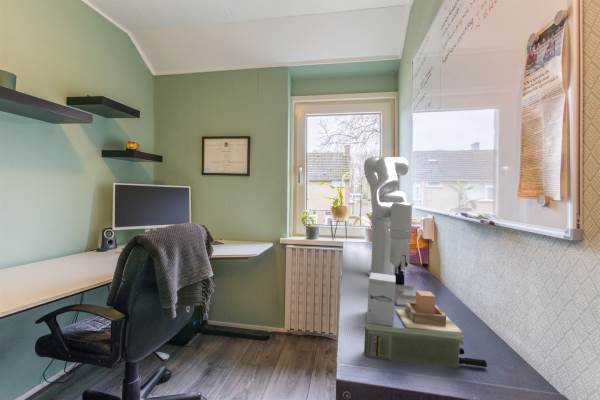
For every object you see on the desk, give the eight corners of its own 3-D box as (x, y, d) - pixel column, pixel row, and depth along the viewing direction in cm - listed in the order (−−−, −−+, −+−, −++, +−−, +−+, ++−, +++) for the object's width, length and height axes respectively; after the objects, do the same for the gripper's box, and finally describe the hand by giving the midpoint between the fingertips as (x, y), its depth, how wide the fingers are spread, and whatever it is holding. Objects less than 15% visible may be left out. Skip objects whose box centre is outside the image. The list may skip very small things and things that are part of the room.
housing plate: (391, 296, 95) (391, 283, 95) (411, 297, 94) (412, 285, 94) (396, 305, 87) (397, 291, 87) (419, 306, 86) (419, 293, 86)
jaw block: (415, 313, 79) (416, 290, 79) (429, 314, 78) (430, 291, 78) (419, 319, 75) (420, 295, 75) (434, 321, 74) (435, 296, 74)
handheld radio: (363, 350, 61) (481, 364, 57) (365, 359, 57) (489, 374, 54) (365, 322, 60) (483, 334, 57) (366, 329, 57) (491, 343, 53)
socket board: (395, 311, 82) (396, 300, 82) (443, 316, 80) (443, 304, 80) (406, 331, 70) (407, 317, 70) (462, 336, 68) (463, 322, 68)
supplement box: (366, 322, 74) (367, 278, 74) (368, 312, 81) (370, 271, 81) (393, 327, 71) (395, 281, 71) (394, 316, 78) (395, 274, 78)
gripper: (386, 232, 107) (384, 278, 106) (395, 236, 92) (393, 289, 91) (405, 233, 106) (404, 279, 105) (417, 237, 91) (416, 291, 90)
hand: (399, 284), depth 98 cm, fingers closed
